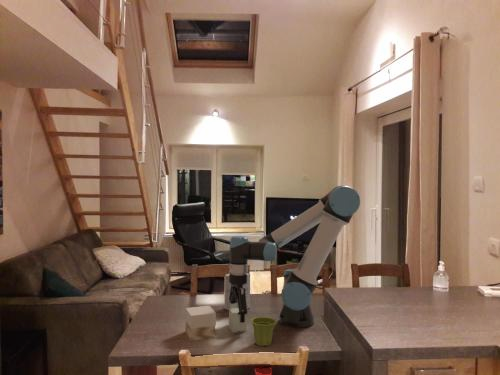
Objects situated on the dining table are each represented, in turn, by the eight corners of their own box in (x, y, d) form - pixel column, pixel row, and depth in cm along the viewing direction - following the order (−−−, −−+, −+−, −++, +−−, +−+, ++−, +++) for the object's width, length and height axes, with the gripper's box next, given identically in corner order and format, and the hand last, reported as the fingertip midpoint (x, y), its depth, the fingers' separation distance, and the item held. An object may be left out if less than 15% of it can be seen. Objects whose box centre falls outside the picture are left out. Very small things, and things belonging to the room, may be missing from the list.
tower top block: (209, 317, 169) (209, 305, 169) (215, 325, 159) (216, 313, 159) (185, 320, 165) (185, 308, 165) (190, 328, 156) (191, 315, 156)
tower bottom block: (209, 330, 168) (209, 318, 168) (214, 339, 159) (215, 326, 159) (185, 332, 165) (185, 320, 165) (189, 341, 155) (189, 328, 155)
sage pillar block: (242, 326, 172) (242, 307, 172) (246, 331, 167) (246, 311, 166) (228, 327, 171) (229, 308, 170) (232, 332, 165) (232, 313, 165)
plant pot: (258, 336, 160) (258, 315, 160) (279, 341, 156) (280, 319, 156) (246, 344, 152) (246, 322, 152) (268, 350, 148) (268, 326, 147)
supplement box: (250, 308, 198) (251, 273, 198) (240, 313, 190) (240, 277, 190) (234, 304, 203) (235, 271, 203) (223, 309, 195) (224, 274, 195)
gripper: (222, 267, 179) (221, 315, 179) (237, 280, 155) (236, 335, 156) (239, 266, 181) (238, 314, 182) (255, 280, 158) (254, 334, 158)
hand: (237, 324), depth 169 cm, fingers open, 13 cm apart
